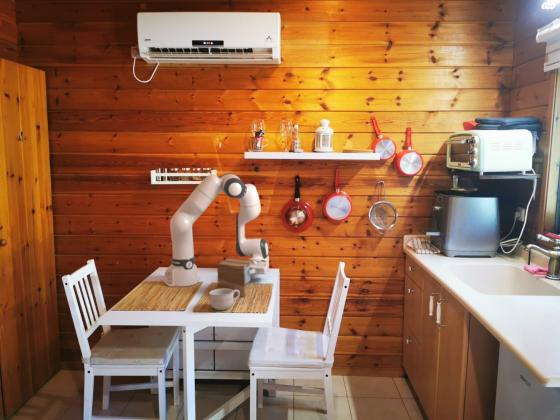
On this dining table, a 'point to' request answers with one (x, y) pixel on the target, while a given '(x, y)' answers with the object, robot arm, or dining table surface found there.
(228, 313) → the dining table surface
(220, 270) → the dark brown box
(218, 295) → the teacup
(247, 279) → the case
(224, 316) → the dining table surface
